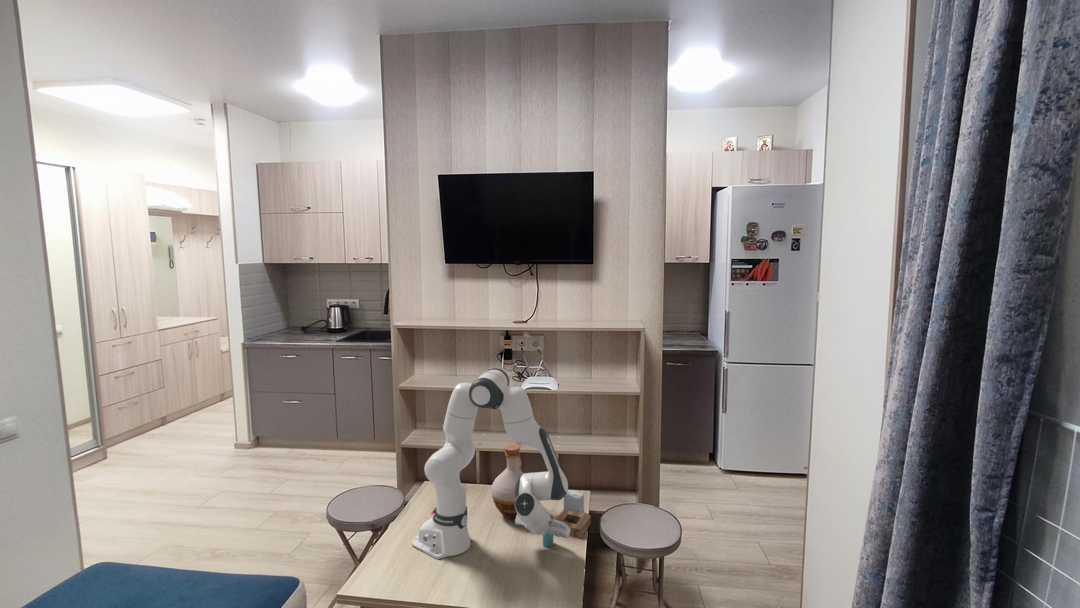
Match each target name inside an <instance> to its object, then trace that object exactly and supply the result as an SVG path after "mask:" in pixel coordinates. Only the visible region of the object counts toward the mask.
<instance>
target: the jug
mask: <svg viewBox="0 0 1080 608" xmlns="http://www.w3.org/2000/svg"><path fill="white" fill-rule="evenodd" d="M520 449H521V444H520V443H517V442H512V443H510V442H509V443H507V444H505V445H504V457H505V458H506V468H505V469H504V470H503V471H502V472H501V473H500V474H499V475H498V476H497V477H495V479H494V481H493V482H492V485H491V497H492V500H493V503H494V505H495V508H496V509H497V510H498V512H500V514H501V515H502V516H503V517H504V518H506V519H510V520H513V519H514V520H515V519H516V516H517V512H516V509H515V500H516V498H515V486H516V482H517V481H518V479H519V477H520V476H521V475H522V474H525V472H523V471H522V460H521V457H520V455H521V452H520Z"/></svg>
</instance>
